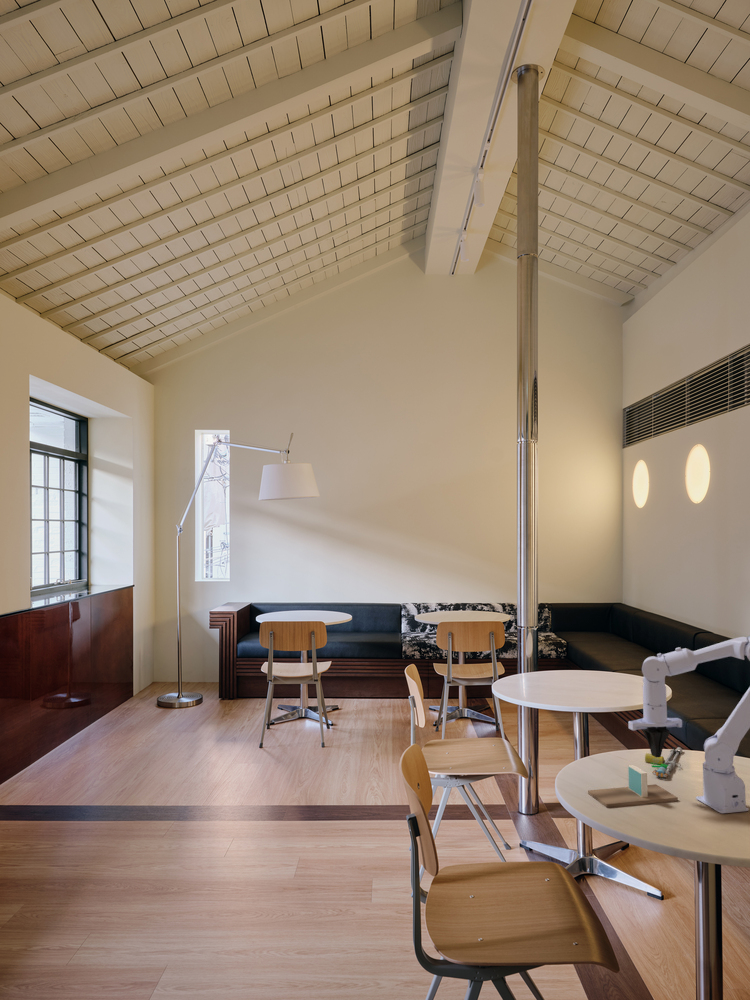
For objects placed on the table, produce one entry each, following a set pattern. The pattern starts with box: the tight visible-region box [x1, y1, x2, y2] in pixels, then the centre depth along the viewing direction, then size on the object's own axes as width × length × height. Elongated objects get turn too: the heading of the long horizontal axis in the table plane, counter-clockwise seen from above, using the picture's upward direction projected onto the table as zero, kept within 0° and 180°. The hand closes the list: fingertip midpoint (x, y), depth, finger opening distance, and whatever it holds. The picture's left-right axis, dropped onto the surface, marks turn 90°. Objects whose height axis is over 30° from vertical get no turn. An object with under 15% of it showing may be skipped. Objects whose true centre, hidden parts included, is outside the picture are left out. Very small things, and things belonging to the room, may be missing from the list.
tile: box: [627, 764, 648, 797], centre depth 171 cm, size 6×2×6 cm, turn 11°
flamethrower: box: [644, 746, 683, 778], centre depth 195 cm, size 29×3×10 cm
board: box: [587, 784, 679, 808], centre depth 170 cm, size 9×20×1 cm, turn 101°
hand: (656, 756), depth 172 cm, fingers closed
